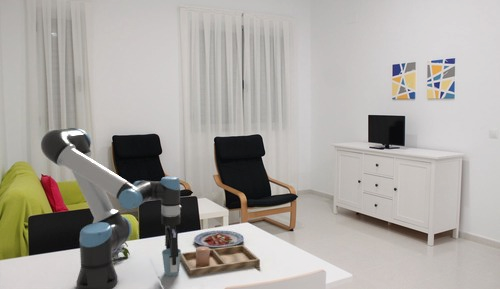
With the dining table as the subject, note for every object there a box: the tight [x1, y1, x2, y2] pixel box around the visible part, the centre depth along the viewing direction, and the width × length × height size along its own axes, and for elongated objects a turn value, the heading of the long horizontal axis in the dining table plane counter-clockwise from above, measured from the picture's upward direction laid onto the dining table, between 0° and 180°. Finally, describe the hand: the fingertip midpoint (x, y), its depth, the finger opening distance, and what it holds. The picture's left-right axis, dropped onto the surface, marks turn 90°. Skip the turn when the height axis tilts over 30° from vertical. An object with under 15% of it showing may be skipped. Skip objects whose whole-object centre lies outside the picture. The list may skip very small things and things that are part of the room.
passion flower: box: [112, 242, 130, 260], centre depth 188 cm, size 11×11×12 cm
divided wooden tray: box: [180, 244, 261, 277], centre depth 182 cm, size 31×20×4 cm, turn 112°
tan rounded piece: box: [195, 245, 211, 267], centre depth 179 cm, size 6×6×7 cm
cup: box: [161, 248, 182, 277], centre depth 169 cm, size 8×8×10 cm
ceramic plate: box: [193, 230, 245, 248], centre depth 212 cm, size 26×26×3 cm
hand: (171, 268), depth 169 cm, fingers closed on cup, 8 cm apart
